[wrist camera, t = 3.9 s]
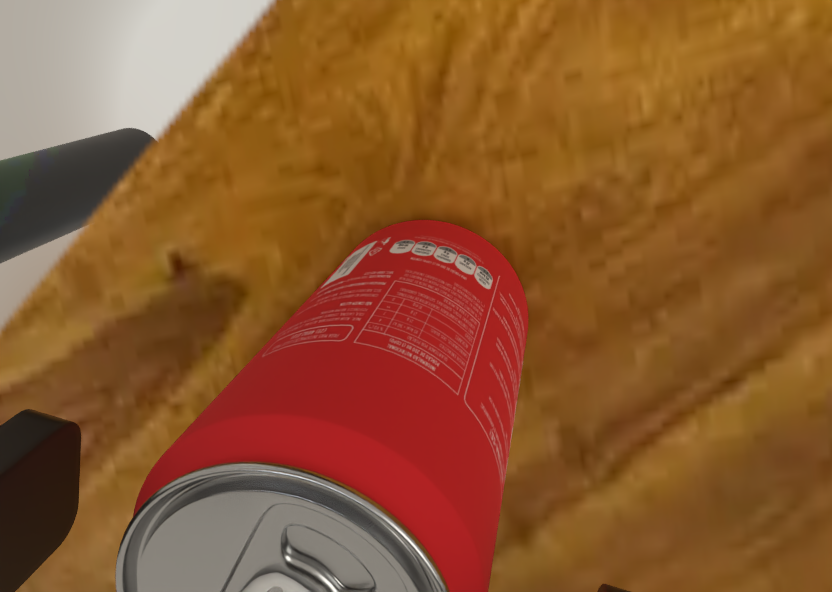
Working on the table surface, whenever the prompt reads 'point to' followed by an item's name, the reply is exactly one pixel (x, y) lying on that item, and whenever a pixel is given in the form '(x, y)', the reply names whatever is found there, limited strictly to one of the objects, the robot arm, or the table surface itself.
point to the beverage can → (351, 436)
